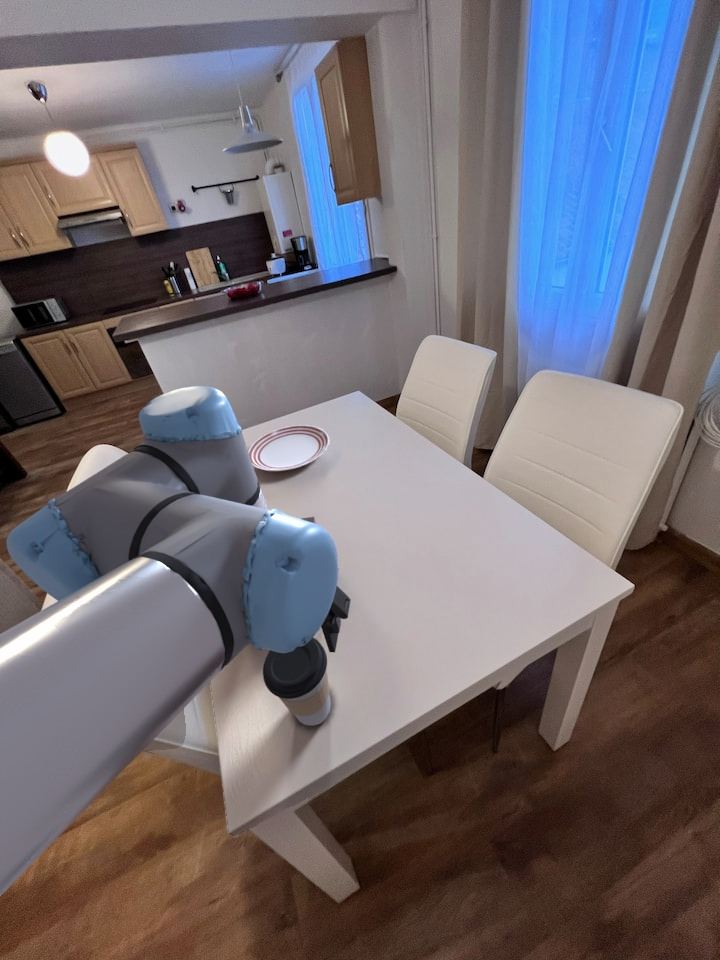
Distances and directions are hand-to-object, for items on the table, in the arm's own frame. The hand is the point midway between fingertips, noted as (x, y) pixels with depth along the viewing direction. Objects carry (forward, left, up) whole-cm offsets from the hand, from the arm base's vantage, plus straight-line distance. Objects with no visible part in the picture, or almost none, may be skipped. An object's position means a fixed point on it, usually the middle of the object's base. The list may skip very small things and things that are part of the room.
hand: (286, 641), depth 56 cm
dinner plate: (+69, +48, -19) cm, 86 cm away
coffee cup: (0, 0, -19) cm, 19 cm away
